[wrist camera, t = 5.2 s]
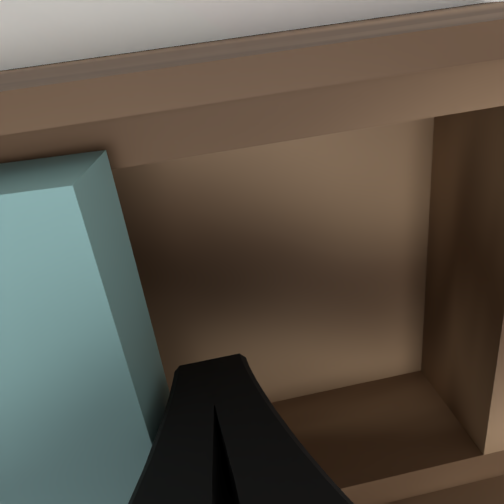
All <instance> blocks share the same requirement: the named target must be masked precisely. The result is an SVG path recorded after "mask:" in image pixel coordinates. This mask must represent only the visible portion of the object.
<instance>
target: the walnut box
mask: <svg viewBox="0 0 504 504" xmlns="http://www.w3.org/2000/svg"><path fill="white" fill-rule="evenodd" d="M101 150H106V152H107V156H108V159H109V163H110V167H111V171H112V175H113V179H114V182H115V186H116V190H117V194H118V198H119V201H120V205H121V209H122V213H123V217H124V220H125V224H126V228H127V232H128V236H129V240H130V243H131V247H132V251H133V255H134V259H135V262H136V266H137V270H138V274H139V278H140V281H141V285H142V289H143V293H144V297H145V301H146V304H147V308H148V312H149V316H150V320H151V323H152V327H153V331H154V335H155V339H156V342H157V346H158V350H159V354H160V358H161V362H162V365H163V369H164V373H165V377H166V381H167V384H168V388H169V392H170V390H171V386H172V382H173V377H174V372H175V370H176V369H177V368H178V367H179V366H180V365H185V364H190V363H195V362H199V361H204V360H209V359H214V358H219V357H224V356H229V355H234V354H239V353H240V354H241V355H243V356H245V357H246V359H247V362H248V364H249V366H250V368H251V370H252V372H253V374H254V376H255V378H256V380H257V381H258V383H259V385H260V386H261V388H262V390H263V391H264V393H265V394H266V396H267V397H268V399H269V400H270V402H271V403H272V405H273V406H274V408H275V409H276V411H277V412H278V413H279V415H280V416H281V417H282V419H283V420H284V421H285V423H286V424H287V425H288V427H289V428H290V429H291V431H292V432H293V433H294V435H295V436H296V437H297V439H298V440H299V441H300V443H301V444H302V445H303V446H304V448H305V449H306V450H307V451H308V452H309V454H310V455H311V456H312V457H313V458H314V460H315V461H316V462H317V463H318V464H319V465H320V467H321V468H322V469H323V470H324V471H325V472H326V474H327V475H328V476H329V477H330V478H331V479H332V480H333V481H334V483H335V484H336V485H337V486H338V487H339V488H340V489H341V490H342V491H343V492H344V493H345V495H346V496H347V497H348V498H349V499H350V500H351V501H352V502H353V503H354V504H504V2H491V3H481V4H474V5H467V6H459V7H452V8H445V9H438V10H431V11H424V12H417V13H410V14H403V15H395V16H388V17H381V18H374V19H367V20H360V21H353V22H346V23H339V24H331V25H324V26H317V27H310V28H303V29H296V30H289V31H282V32H274V33H267V34H260V35H253V36H246V37H239V38H232V39H225V40H218V41H210V42H203V43H196V44H189V45H182V46H175V47H168V48H161V49H154V50H146V51H139V52H132V53H125V54H118V55H111V56H104V57H97V58H89V59H82V60H75V61H68V62H61V63H54V64H47V65H40V66H33V67H25V68H18V69H11V70H4V71H0V164H1V163H9V162H16V161H24V160H32V159H39V158H47V157H55V156H63V155H70V154H78V153H86V152H93V151H101Z"/></svg>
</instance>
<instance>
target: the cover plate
mask: <svg viewBox="0 0 504 504" xmlns="http://www.w3.org/2000/svg"><path fill="white" fill-rule="evenodd" d="M169 394H170V392H169V388H168V384H167V381H166V377H165V373H164V369H163V365H162V362H161V358H160V354H159V350H158V346H157V342H156V339H155V335H154V331H153V327H152V323H151V320H150V316H149V312H148V308H147V304H146V301H145V297H144V293H143V289H142V285H141V281H140V278H139V274H138V270H137V266H136V262H135V259H134V255H133V251H132V247H131V243H130V240H129V236H128V232H127V228H126V224H125V220H124V217H123V213H122V209H121V205H120V201H119V198H118V194H117V190H116V186H115V182H114V179H113V175H112V171H111V167H110V163H109V159H108V156H107V152H106V150H101V151H93V152H86V153H78V154H70V155H63V156H55V157H47V158H39V159H32V160H24V161H16V162H9V163H1V164H0V504H128V503H129V500H130V498H131V496H132V494H133V491H134V489H135V487H136V485H137V482H138V480H139V478H140V475H141V473H142V471H143V468H144V466H145V463H146V461H147V458H148V455H149V453H150V450H151V447H152V445H153V442H154V439H155V437H156V434H157V431H158V429H159V426H160V423H161V420H162V417H163V414H164V411H165V408H166V404H167V401H168V397H169Z"/></svg>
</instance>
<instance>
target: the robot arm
mask: <svg viewBox="0 0 504 504" xmlns="http://www.w3.org/2000/svg"><path fill="white" fill-rule="evenodd" d="M128 504H354V503H353V502H352V501H351V500H350V499H349V498H348V497H347V496H346V495H345V493H344V492H343V491H342V490H341V489H340V488H339V487H338V486H337V485H336V484H335V483H334V481H333V480H332V479H331V478H330V477H329V476H328V475H327V474H326V472H325V471H324V470H323V469H322V468H321V467H320V465H319V464H318V463H317V462H316V461H315V460H314V458H313V457H312V456H311V455H310V454H309V452H308V451H307V450H306V449H305V448H304V446H303V445H302V444H301V443H300V441H299V440H298V439H297V437H296V436H295V435H294V433H293V432H292V431H291V429H290V428H289V427H288V425H287V424H286V423H285V421H284V420H283V419H282V417H281V416H280V415H279V413H278V412H277V411H276V409H275V408H274V406H273V405H272V403H271V402H270V400H269V399H268V397H267V396H266V394H265V393H264V391H263V390H262V388H261V386H260V385H259V383H258V381H257V380H256V378H255V376H254V374H253V372H252V370H251V368H250V366H249V364H248V362H247V359H246V357H245V356H243V355H241V354H240V353H239V354H234V355H229V356H224V357H219V358H214V359H209V360H204V361H199V362H195V363H190V364H185V365H180V366H179V367H178V368H177V369H176V370H175V372H174V377H173V382H172V386H171V390H170V394H169V397H168V401H167V404H166V408H165V411H164V414H163V417H162V420H161V423H160V426H159V429H158V431H157V434H156V437H155V439H154V442H153V445H152V447H151V450H150V453H149V455H148V458H147V461H146V463H145V466H144V468H143V471H142V473H141V475H140V478H139V480H138V482H137V485H136V487H135V489H134V491H133V494H132V496H131V498H130V500H129V503H128Z"/></svg>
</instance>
